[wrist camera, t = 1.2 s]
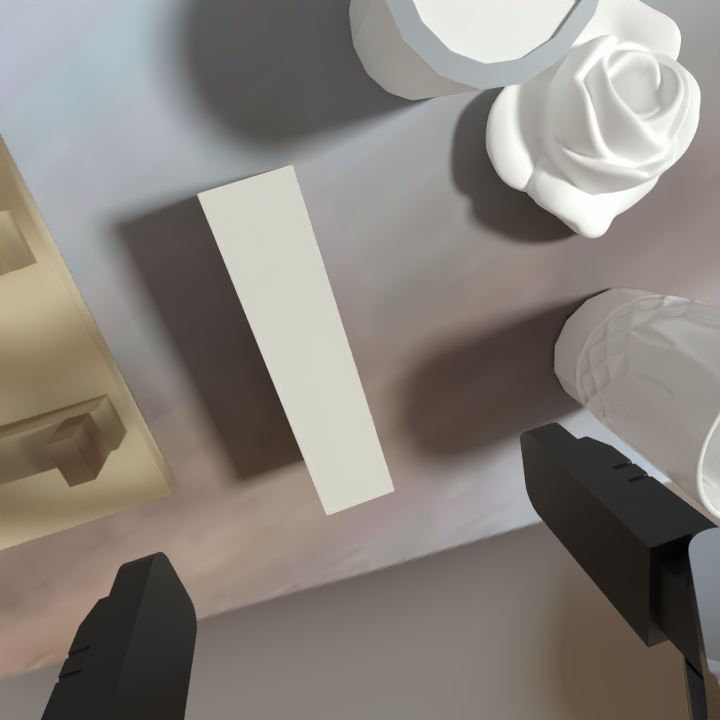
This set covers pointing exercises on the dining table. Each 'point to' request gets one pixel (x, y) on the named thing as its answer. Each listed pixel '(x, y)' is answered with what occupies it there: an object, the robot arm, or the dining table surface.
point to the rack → (60, 392)
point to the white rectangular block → (299, 332)
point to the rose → (598, 119)
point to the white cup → (651, 380)
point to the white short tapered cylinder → (462, 42)
